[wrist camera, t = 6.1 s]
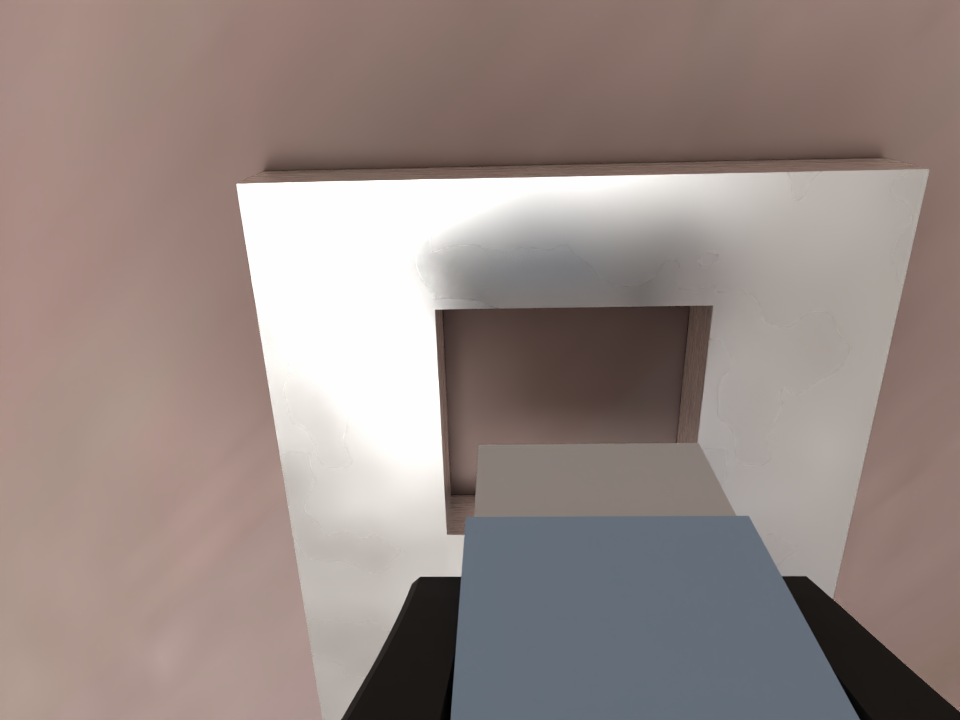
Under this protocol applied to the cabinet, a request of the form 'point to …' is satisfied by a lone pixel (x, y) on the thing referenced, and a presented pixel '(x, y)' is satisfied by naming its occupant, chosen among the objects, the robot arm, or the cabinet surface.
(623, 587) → the plug
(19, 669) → the cabinet surface
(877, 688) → the robot arm
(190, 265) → the cabinet surface
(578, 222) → the panel
